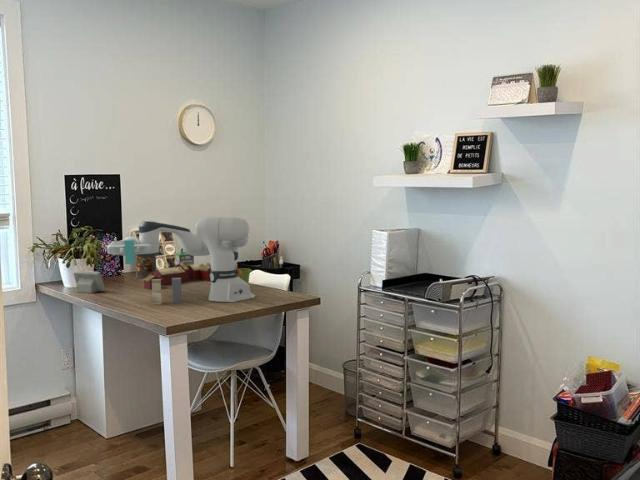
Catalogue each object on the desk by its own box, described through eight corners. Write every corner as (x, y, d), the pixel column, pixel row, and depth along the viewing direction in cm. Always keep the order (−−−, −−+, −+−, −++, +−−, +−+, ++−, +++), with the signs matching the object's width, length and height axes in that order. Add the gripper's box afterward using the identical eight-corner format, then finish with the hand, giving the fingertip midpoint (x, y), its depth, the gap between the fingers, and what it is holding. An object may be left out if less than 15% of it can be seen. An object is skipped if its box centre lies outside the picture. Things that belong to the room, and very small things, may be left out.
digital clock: (107, 291, 314) (106, 270, 313) (92, 294, 306) (91, 273, 305) (85, 288, 322) (84, 268, 321) (70, 291, 314) (69, 270, 313)
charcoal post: (172, 301, 289) (171, 278, 288) (181, 300, 290) (180, 277, 289) (172, 302, 285) (172, 279, 284) (181, 302, 286) (181, 278, 285)
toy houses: (201, 276, 362) (201, 259, 361) (222, 280, 348) (222, 262, 347) (131, 286, 330) (130, 267, 329) (151, 291, 316) (150, 271, 315)
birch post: (152, 302, 285) (151, 279, 284) (161, 302, 286) (160, 279, 285) (152, 304, 282) (151, 280, 280) (161, 304, 283) (160, 280, 281)
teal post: (125, 263, 288) (124, 239, 287) (134, 262, 289) (133, 239, 288) (125, 264, 285) (124, 240, 283) (134, 264, 286) (133, 240, 284)
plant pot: (253, 286, 326) (253, 270, 325) (236, 288, 322) (235, 271, 321) (248, 283, 335) (248, 268, 334) (231, 285, 331) (231, 269, 330)
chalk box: (189, 270, 381) (189, 246, 380) (194, 272, 373) (194, 248, 372) (175, 271, 377) (174, 247, 375) (179, 273, 369) (178, 249, 367)
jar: (160, 277, 357) (159, 251, 355) (140, 279, 350) (139, 252, 349) (152, 274, 366) (151, 249, 365) (132, 276, 360) (132, 250, 358)
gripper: (152, 253, 302) (153, 256, 289) (108, 254, 296) (106, 258, 283) (152, 240, 301) (152, 243, 288) (108, 241, 296) (106, 244, 283)
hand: (129, 250), depth 285 cm, fingers closed on teal post, 4 cm apart
